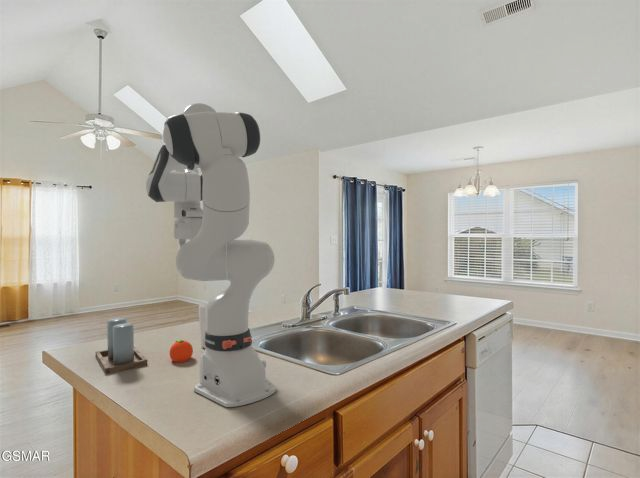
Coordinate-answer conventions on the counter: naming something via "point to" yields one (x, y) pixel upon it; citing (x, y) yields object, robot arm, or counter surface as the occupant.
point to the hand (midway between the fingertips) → (188, 252)
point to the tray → (110, 368)
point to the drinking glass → (203, 323)
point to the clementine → (181, 351)
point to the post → (110, 333)
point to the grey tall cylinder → (123, 344)
